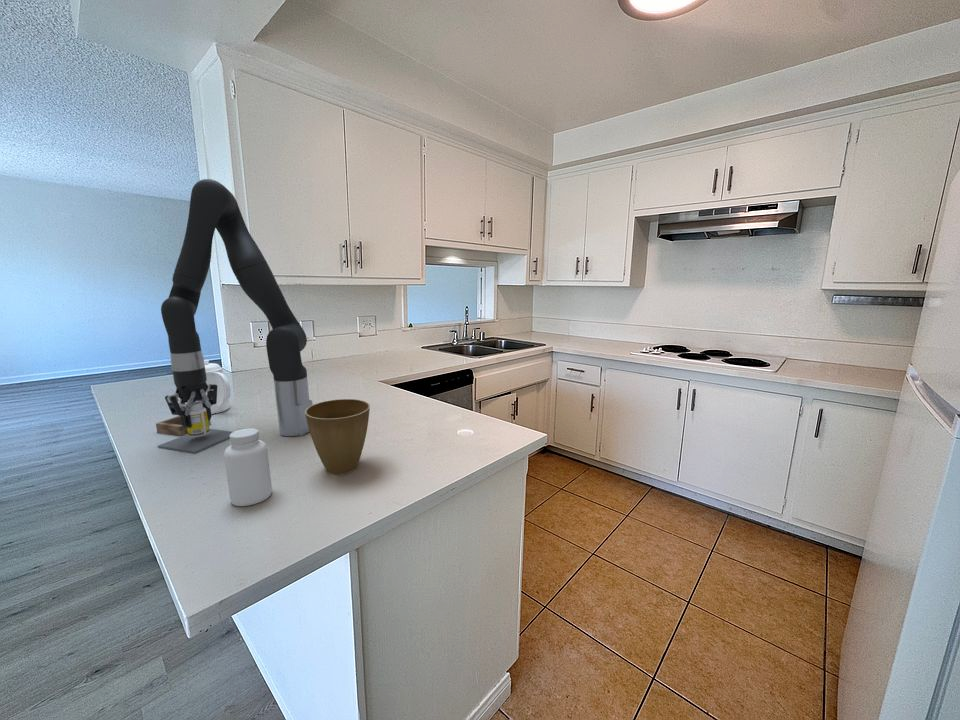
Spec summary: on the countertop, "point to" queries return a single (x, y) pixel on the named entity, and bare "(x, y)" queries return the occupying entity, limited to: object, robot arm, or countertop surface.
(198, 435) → the supplement bottle
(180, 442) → the rubber mat
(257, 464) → the pill bottle
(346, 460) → the plant pot
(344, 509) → the countertop surface
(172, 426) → the collar holder
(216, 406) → the coffeepot
